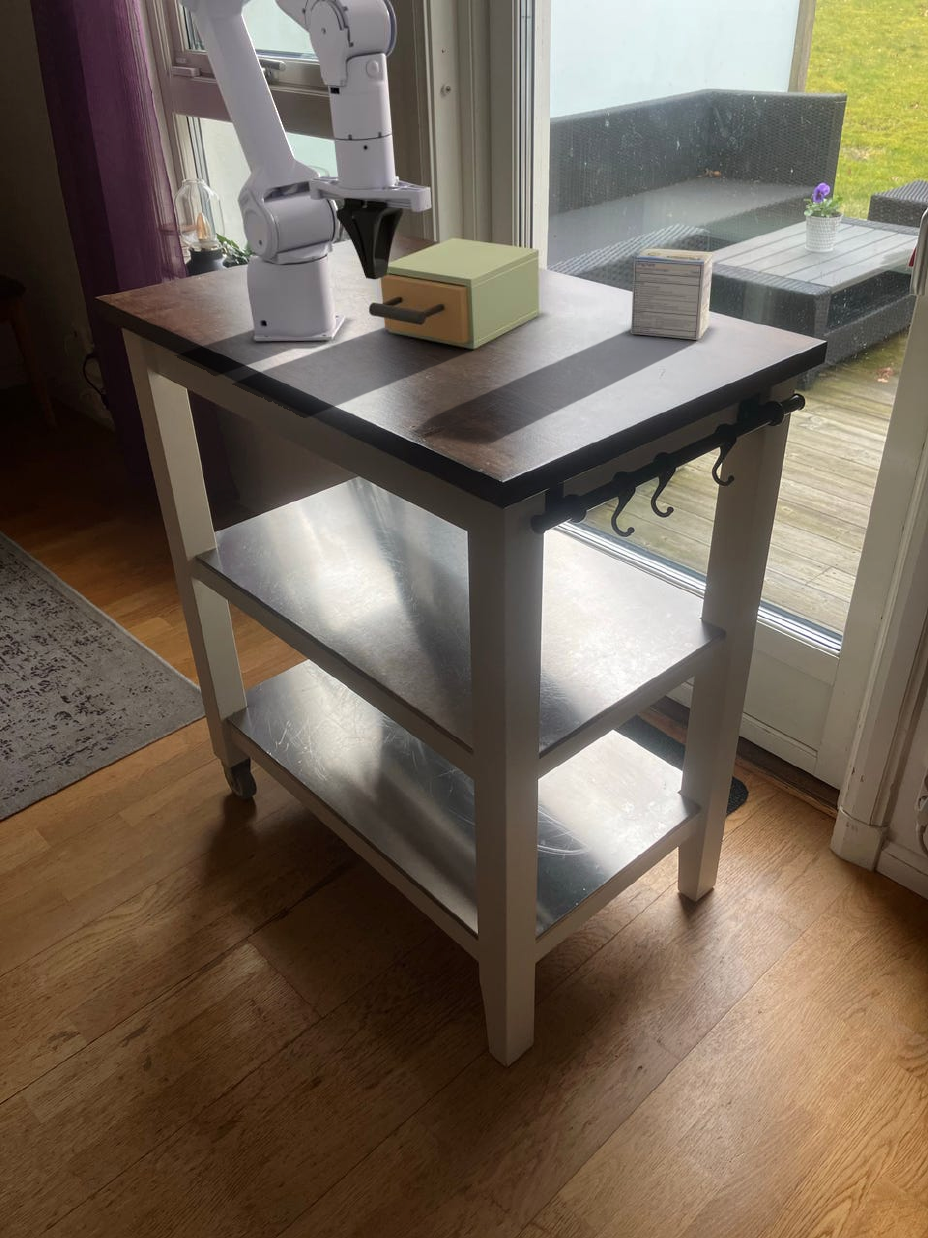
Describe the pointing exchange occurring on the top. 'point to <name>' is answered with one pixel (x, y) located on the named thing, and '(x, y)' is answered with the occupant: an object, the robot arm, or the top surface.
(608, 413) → the top surface
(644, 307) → the medicine box
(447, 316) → the drawer
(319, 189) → the robot arm
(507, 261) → the cabinet
